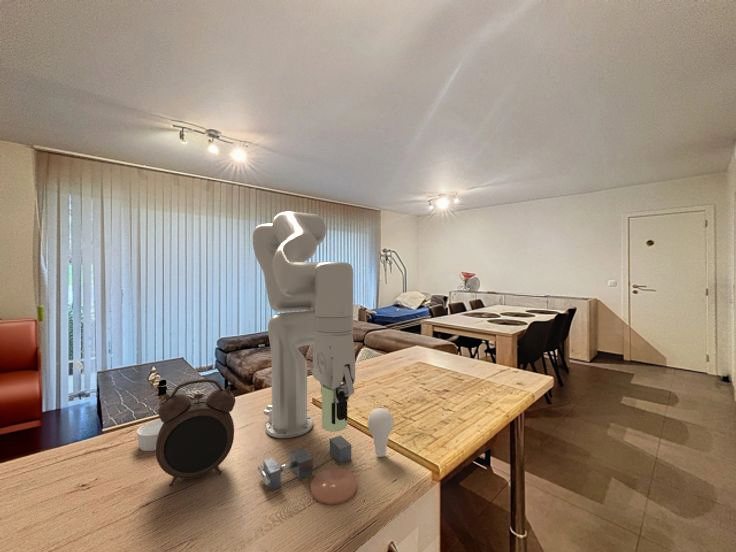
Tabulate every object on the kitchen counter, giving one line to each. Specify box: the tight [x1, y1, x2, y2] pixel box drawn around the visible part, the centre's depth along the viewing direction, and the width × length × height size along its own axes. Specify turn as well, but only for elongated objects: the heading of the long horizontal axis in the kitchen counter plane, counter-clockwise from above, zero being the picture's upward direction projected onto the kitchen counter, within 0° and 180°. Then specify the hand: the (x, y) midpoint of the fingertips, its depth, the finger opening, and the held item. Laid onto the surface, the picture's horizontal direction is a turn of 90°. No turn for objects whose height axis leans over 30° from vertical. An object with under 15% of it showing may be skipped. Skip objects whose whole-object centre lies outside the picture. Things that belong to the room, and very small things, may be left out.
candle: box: [321, 384, 348, 433], centre depth 62 cm, size 5×5×8 cm
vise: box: [257, 435, 352, 492], centre depth 68 cm, size 6×19×4 cm, turn 124°
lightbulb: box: [367, 407, 395, 458], centre depth 72 cm, size 6×6×11 cm
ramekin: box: [136, 418, 164, 452], centre depth 78 cm, size 9×9×4 cm
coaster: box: [310, 468, 358, 505], centre depth 62 cm, size 9×9×1 cm
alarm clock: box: [155, 378, 236, 488], centre depth 65 cm, size 15×7×20 cm, turn 117°
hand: (334, 417), depth 62 cm, fingers closed on candle, 3 cm apart
